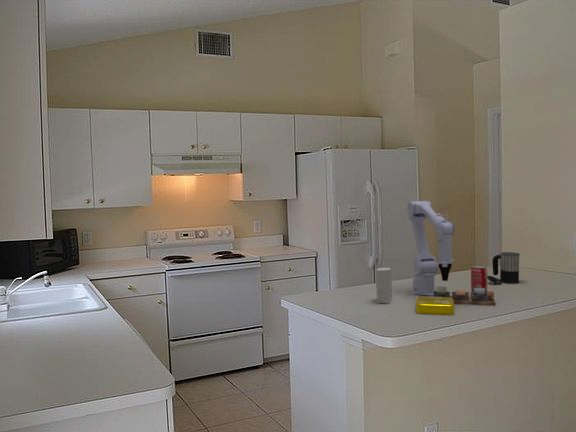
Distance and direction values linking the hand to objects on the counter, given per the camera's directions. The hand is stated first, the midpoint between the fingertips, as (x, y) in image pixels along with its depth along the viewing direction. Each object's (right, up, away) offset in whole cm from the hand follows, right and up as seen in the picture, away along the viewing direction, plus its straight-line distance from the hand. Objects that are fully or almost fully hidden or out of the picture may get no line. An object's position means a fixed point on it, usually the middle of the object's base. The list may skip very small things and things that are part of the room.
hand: (445, 280), depth 248 cm
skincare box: (-26, -10, +4) cm, 28 cm away
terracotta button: (+7, -8, 0) cm, 10 cm away
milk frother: (+40, -6, +38) cm, 56 cm away
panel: (+7, -9, 0) cm, 12 cm away
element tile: (-8, -11, -13) cm, 19 cm away
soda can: (+20, -8, +14) cm, 25 cm away
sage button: (-1, -6, +2) cm, 7 cm away
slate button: (+15, -6, -2) cm, 16 cm away
